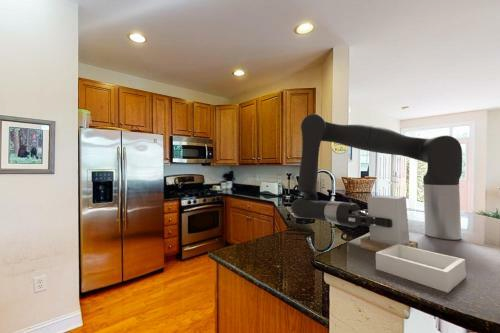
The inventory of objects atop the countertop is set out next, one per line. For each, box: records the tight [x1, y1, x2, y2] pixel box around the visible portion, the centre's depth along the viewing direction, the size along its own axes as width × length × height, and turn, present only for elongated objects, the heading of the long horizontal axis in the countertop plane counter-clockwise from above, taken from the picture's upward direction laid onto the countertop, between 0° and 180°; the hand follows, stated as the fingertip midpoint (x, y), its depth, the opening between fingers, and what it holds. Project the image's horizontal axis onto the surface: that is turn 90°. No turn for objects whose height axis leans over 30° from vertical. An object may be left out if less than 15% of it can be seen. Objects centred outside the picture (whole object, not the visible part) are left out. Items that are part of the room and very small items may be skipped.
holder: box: [359, 235, 419, 253], centre depth 64 cm, size 9×11×2 cm
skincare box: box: [366, 195, 410, 245], centre depth 64 cm, size 8×6×15 cm
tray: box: [375, 244, 467, 294], centre depth 49 cm, size 11×13×4 cm
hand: (397, 221), depth 62 cm, fingers closed on skincare box, 6 cm apart
